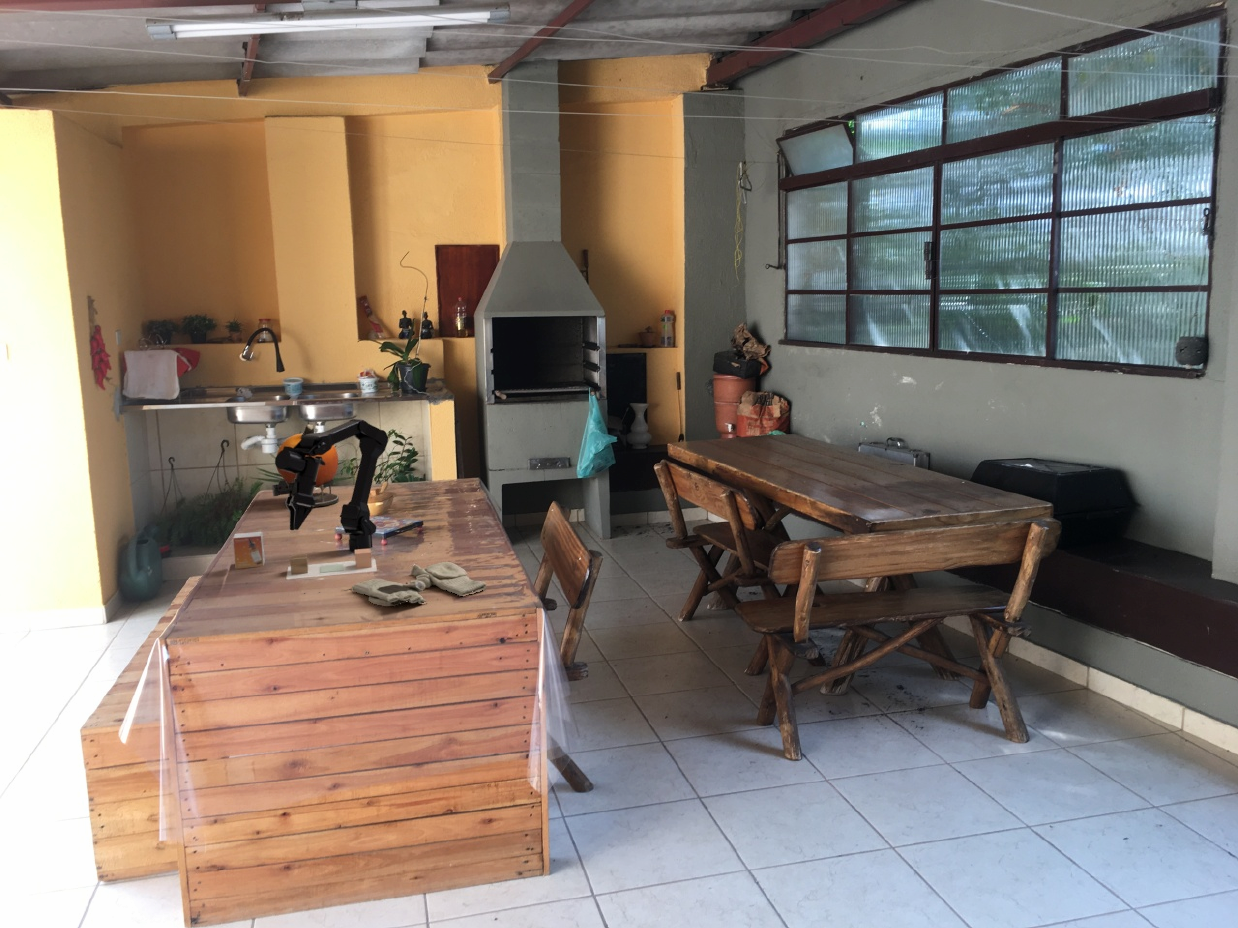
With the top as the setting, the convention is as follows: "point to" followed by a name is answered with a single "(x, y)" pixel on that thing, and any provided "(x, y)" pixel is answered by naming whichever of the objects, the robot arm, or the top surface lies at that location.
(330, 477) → the pumpkin
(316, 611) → the top surface
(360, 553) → the terracotta block
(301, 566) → the walnut block
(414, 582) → the pair of gloves
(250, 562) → the small box
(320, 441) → the robot arm
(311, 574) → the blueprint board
